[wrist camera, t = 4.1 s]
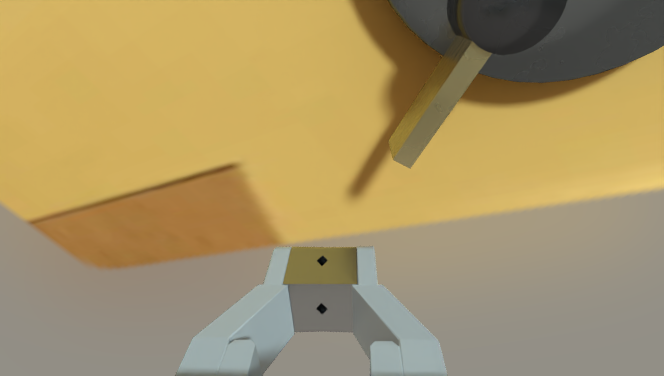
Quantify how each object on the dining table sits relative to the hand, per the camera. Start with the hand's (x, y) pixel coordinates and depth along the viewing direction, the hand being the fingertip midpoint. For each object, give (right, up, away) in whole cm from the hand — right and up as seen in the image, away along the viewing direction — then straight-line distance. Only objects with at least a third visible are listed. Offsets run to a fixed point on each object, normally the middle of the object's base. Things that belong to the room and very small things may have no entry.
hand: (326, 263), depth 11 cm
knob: (+7, +10, +10) cm, 16 cm away
